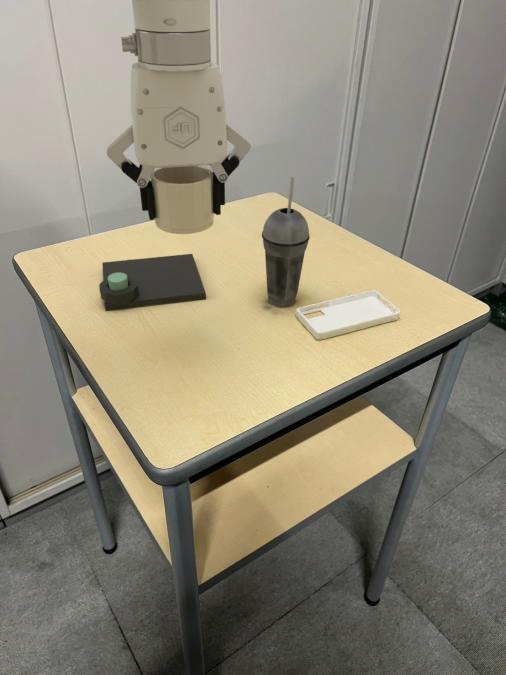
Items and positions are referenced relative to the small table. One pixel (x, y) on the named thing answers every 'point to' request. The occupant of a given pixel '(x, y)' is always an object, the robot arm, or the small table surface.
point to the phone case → (347, 314)
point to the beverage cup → (284, 253)
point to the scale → (153, 282)
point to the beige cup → (183, 199)
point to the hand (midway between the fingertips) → (184, 212)
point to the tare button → (117, 281)
